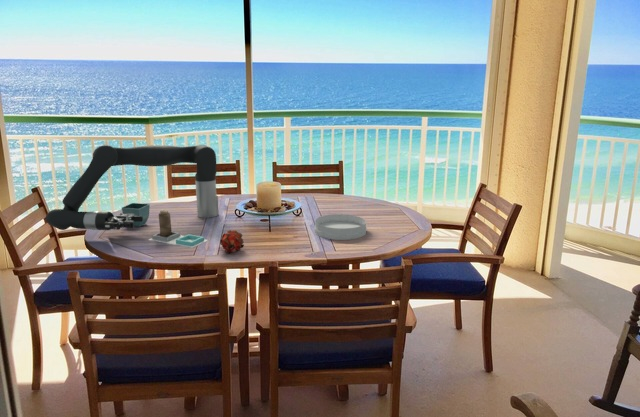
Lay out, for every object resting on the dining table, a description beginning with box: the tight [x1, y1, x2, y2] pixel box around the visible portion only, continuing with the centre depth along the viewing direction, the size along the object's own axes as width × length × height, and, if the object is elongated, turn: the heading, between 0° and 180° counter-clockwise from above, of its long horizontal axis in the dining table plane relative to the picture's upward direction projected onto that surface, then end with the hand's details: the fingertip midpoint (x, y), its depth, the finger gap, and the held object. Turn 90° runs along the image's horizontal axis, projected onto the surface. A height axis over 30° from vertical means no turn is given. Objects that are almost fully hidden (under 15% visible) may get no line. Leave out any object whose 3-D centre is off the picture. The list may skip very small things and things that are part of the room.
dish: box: [314, 213, 367, 241], centre depth 209 cm, size 22×22×5 cm
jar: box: [158, 209, 173, 237], centre depth 195 cm, size 4×4×11 cm
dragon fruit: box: [219, 229, 245, 255], centre depth 184 cm, size 8×8×12 cm
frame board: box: [147, 231, 209, 248], centre depth 194 cm, size 22×10×3 cm, turn 65°
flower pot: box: [121, 202, 151, 228], centre depth 216 cm, size 9×9×9 cm
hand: (138, 221), depth 195 cm, fingers open, 8 cm apart
